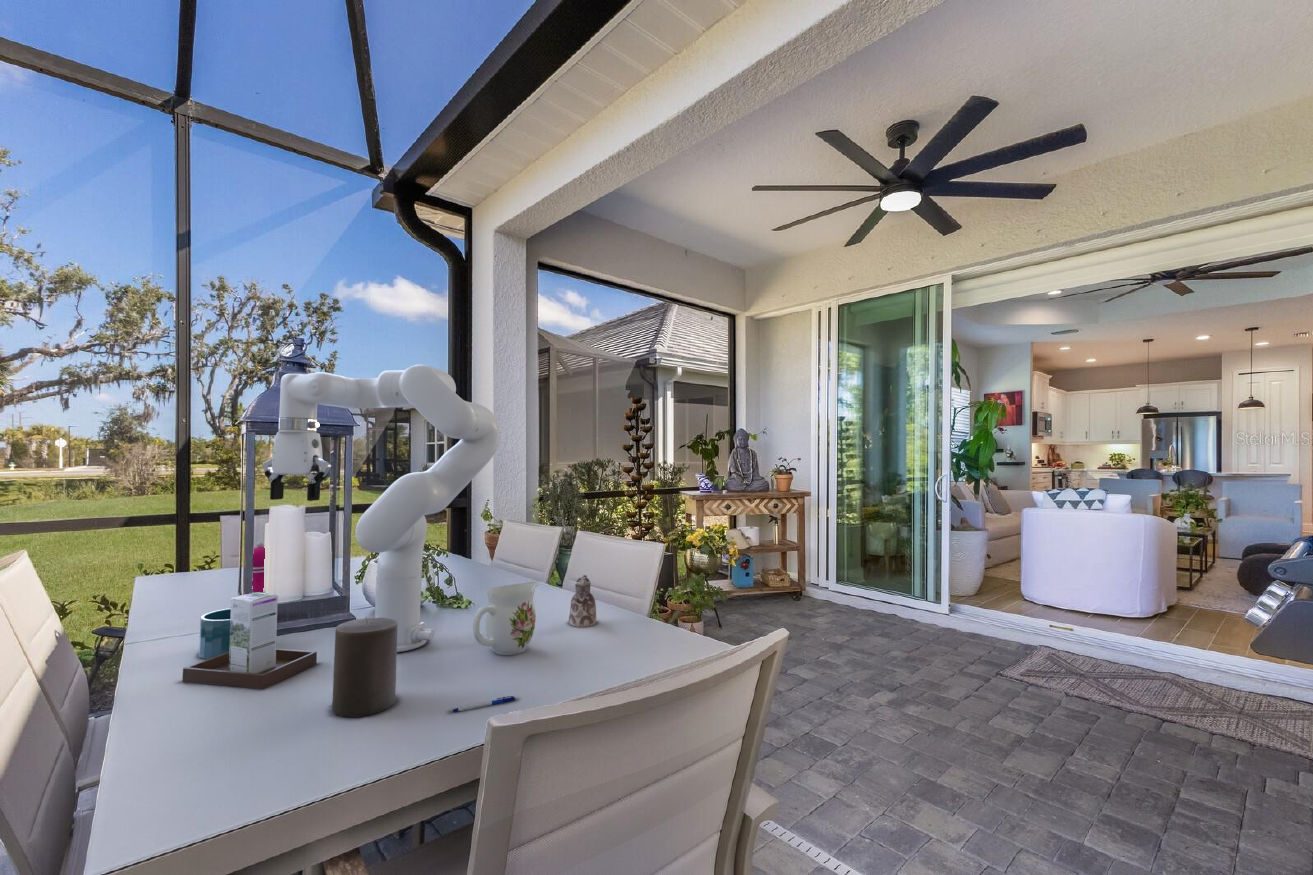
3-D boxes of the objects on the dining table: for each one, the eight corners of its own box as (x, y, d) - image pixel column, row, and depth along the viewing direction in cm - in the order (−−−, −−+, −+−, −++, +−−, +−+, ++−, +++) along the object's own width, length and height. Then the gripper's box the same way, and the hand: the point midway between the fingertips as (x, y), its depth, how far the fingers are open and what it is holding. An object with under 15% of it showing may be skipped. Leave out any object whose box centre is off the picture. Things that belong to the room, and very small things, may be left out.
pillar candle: (353, 723, 91) (356, 628, 92) (320, 708, 97) (323, 618, 97) (407, 701, 100) (410, 615, 100) (374, 689, 105) (377, 606, 105)
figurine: (565, 625, 147) (566, 578, 147) (573, 618, 154) (574, 573, 154) (591, 627, 146) (592, 580, 146) (599, 620, 153) (600, 574, 153)
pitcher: (456, 657, 122) (458, 592, 123) (519, 636, 137) (521, 578, 138) (490, 668, 116) (492, 600, 117) (553, 645, 131) (554, 585, 132)
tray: (316, 664, 117) (317, 651, 117) (262, 689, 104) (263, 675, 104) (243, 658, 120) (244, 646, 120) (182, 681, 107) (182, 668, 107)
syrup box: (277, 666, 114) (280, 593, 114) (247, 677, 108) (250, 599, 109) (256, 663, 116) (259, 590, 116) (226, 673, 110) (229, 597, 111)
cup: (275, 644, 129) (277, 608, 129) (231, 661, 118) (232, 622, 118) (232, 641, 131) (234, 605, 131) (184, 657, 120) (186, 618, 120)
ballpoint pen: (513, 699, 102) (514, 694, 102) (515, 701, 101) (515, 695, 101) (452, 712, 96) (452, 706, 96) (453, 714, 96) (453, 708, 96)
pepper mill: (256, 622, 145) (260, 543, 146) (233, 620, 147) (236, 542, 148) (280, 615, 152) (283, 539, 153) (258, 613, 154) (261, 538, 155)
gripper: (342, 428, 137) (339, 499, 136) (278, 427, 139) (275, 498, 139) (318, 426, 129) (315, 502, 128) (252, 425, 132) (248, 500, 131)
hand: (294, 499), depth 134 cm, fingers open, 9 cm apart
